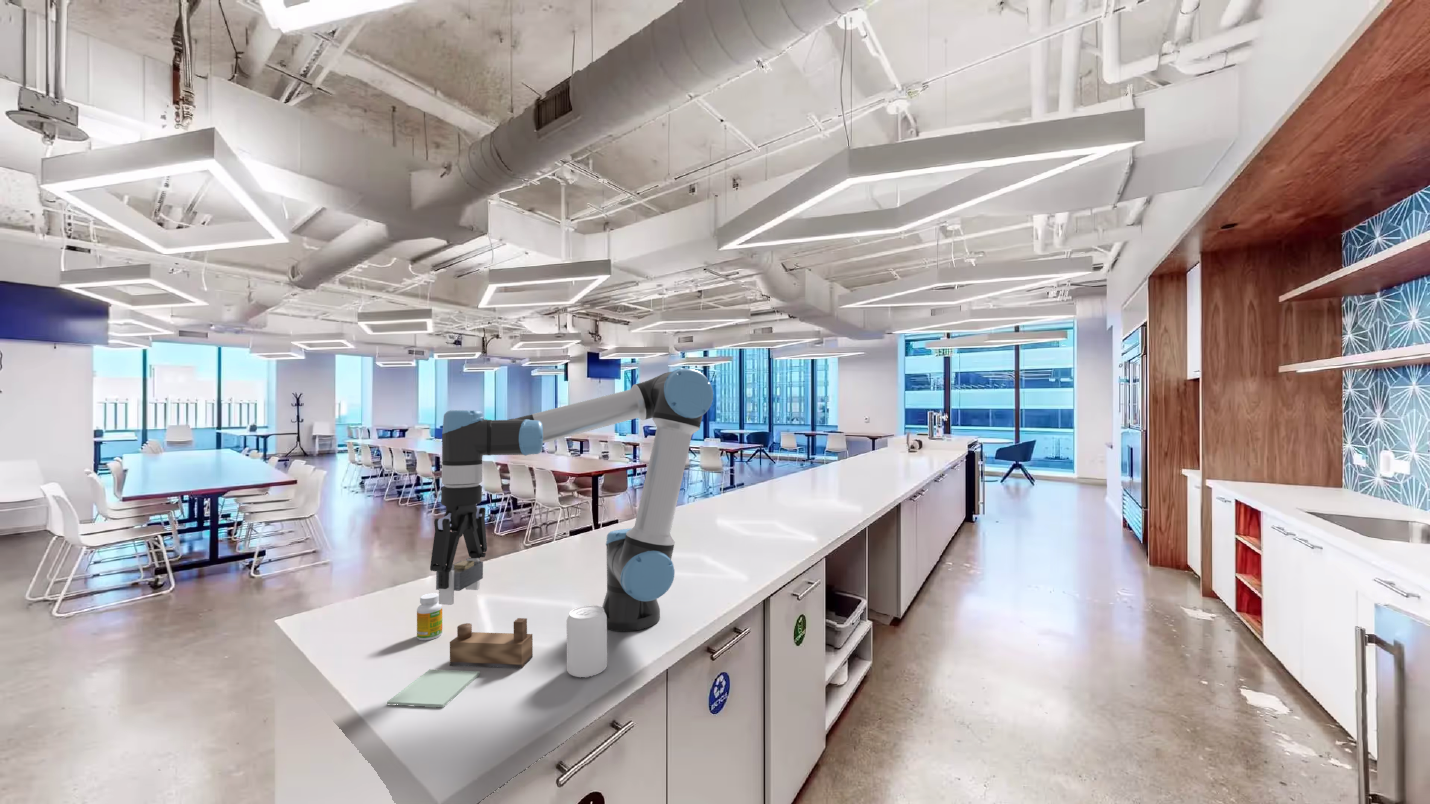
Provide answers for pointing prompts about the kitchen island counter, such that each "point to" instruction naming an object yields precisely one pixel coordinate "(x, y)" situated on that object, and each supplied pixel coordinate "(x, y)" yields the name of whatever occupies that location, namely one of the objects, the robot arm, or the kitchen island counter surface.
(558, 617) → the kitchen island counter surface
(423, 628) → the supplement bottle
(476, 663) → the hand plane
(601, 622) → the beverage can
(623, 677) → the kitchen island counter surface
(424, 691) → the mat
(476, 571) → the dark grey rectangular block
